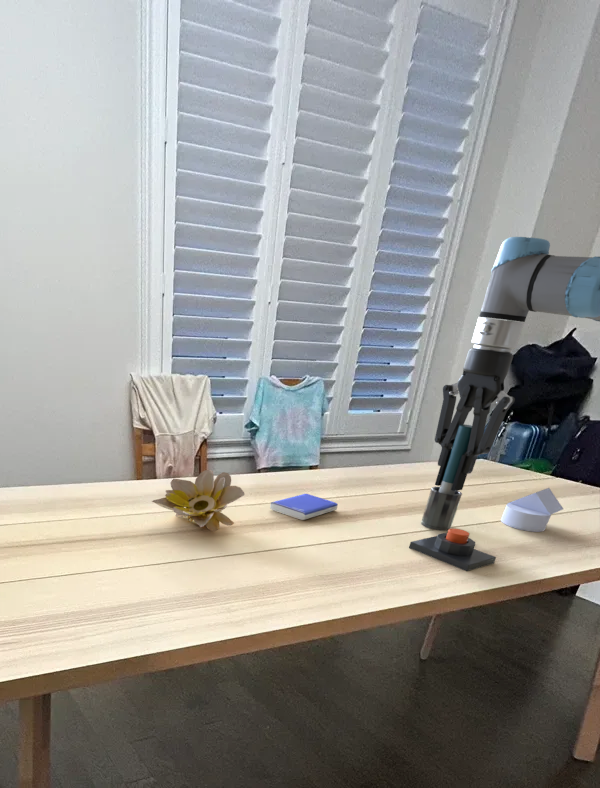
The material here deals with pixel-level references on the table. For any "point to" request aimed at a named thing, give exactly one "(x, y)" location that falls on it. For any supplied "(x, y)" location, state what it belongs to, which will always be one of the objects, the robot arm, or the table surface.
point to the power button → (457, 536)
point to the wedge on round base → (531, 511)
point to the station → (453, 552)
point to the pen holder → (440, 509)
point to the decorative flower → (202, 499)
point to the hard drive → (303, 506)
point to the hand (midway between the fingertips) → (448, 487)
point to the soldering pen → (455, 458)
